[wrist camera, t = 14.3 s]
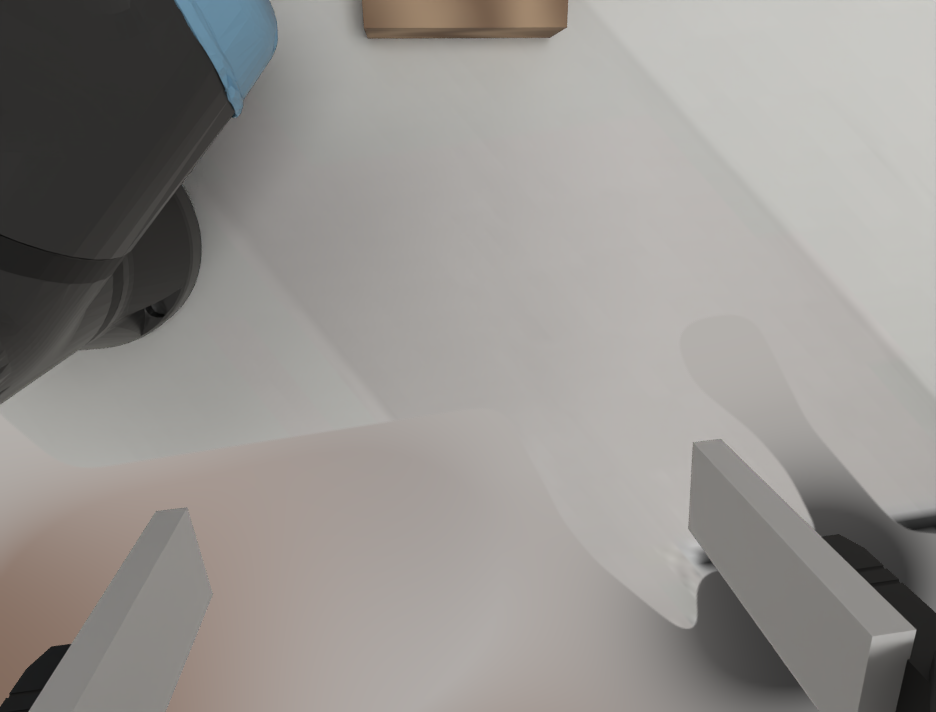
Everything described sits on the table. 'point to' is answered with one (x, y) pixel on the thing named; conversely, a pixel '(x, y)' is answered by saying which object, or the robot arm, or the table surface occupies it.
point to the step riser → (464, 18)
